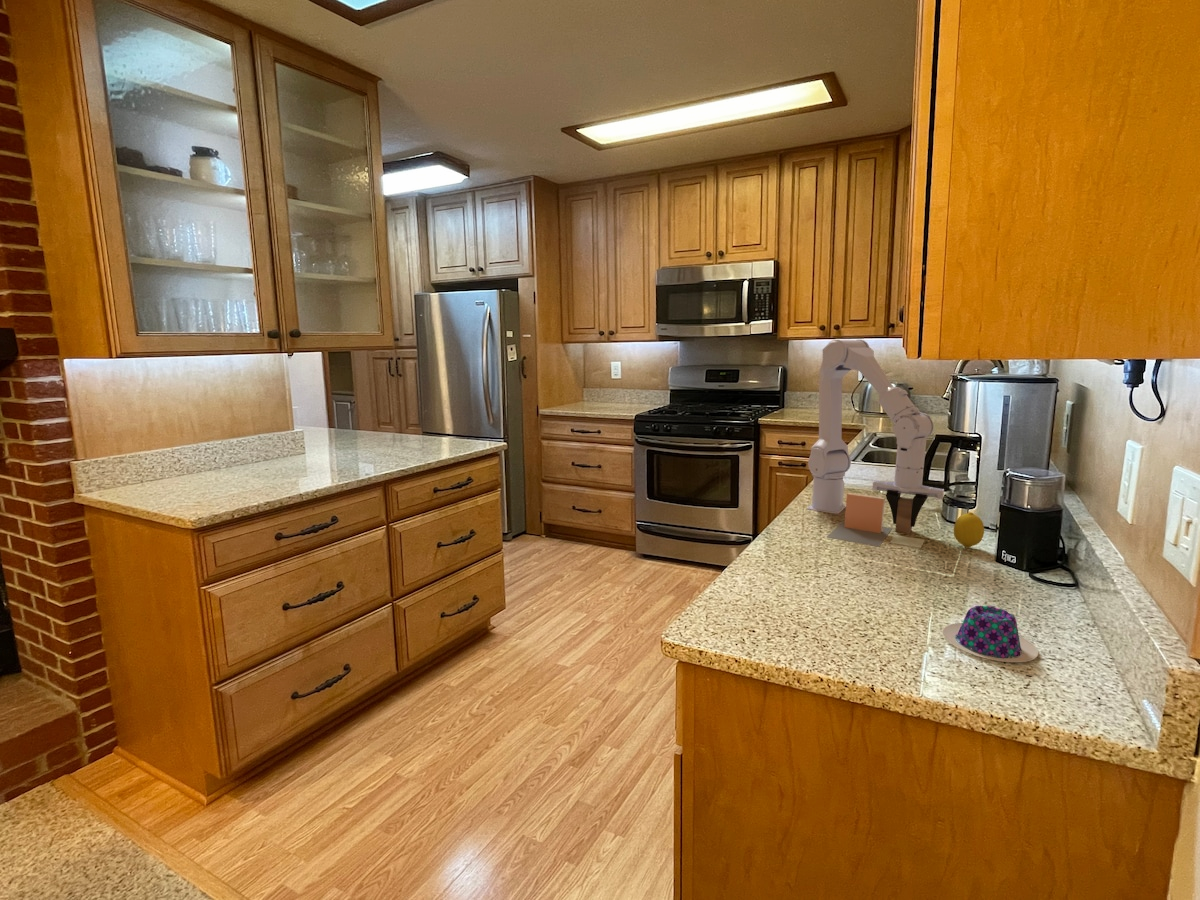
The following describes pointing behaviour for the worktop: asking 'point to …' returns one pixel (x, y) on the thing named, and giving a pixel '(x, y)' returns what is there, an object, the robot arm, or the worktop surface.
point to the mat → (859, 535)
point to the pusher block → (904, 515)
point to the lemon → (968, 530)
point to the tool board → (907, 541)
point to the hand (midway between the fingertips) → (904, 524)
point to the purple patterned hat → (990, 635)
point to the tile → (864, 512)
